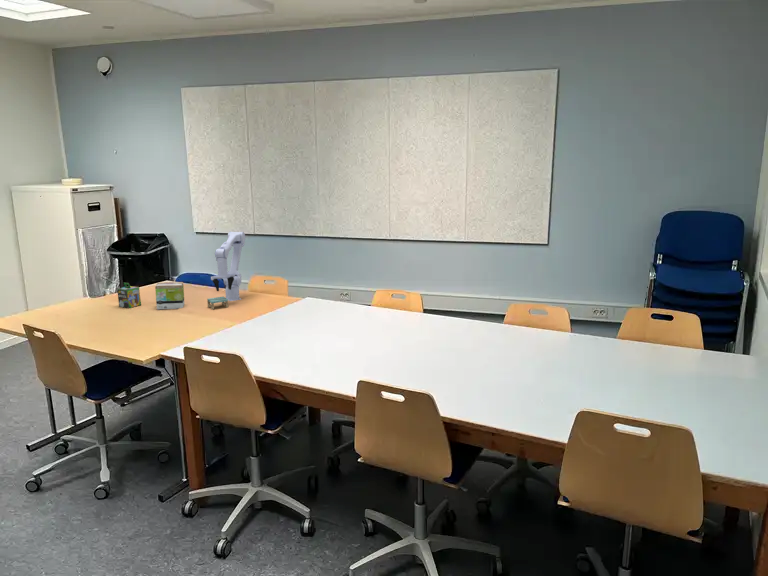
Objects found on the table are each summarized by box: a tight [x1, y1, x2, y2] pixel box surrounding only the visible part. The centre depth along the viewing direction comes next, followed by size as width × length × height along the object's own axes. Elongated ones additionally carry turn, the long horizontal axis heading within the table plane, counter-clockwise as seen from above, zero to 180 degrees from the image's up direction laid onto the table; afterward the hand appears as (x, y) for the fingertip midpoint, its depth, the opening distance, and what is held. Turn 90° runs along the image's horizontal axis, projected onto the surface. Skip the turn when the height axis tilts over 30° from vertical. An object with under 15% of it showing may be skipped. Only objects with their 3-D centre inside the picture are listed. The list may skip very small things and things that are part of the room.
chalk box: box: [116, 282, 142, 309], centre depth 341 cm, size 9×9×15 cm
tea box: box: [154, 281, 185, 310], centre depth 339 cm, size 15×10×15 cm, turn 104°
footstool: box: [206, 296, 229, 311], centre depth 338 cm, size 7×10×5 cm
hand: (223, 290), depth 344 cm, fingers open, 7 cm apart
